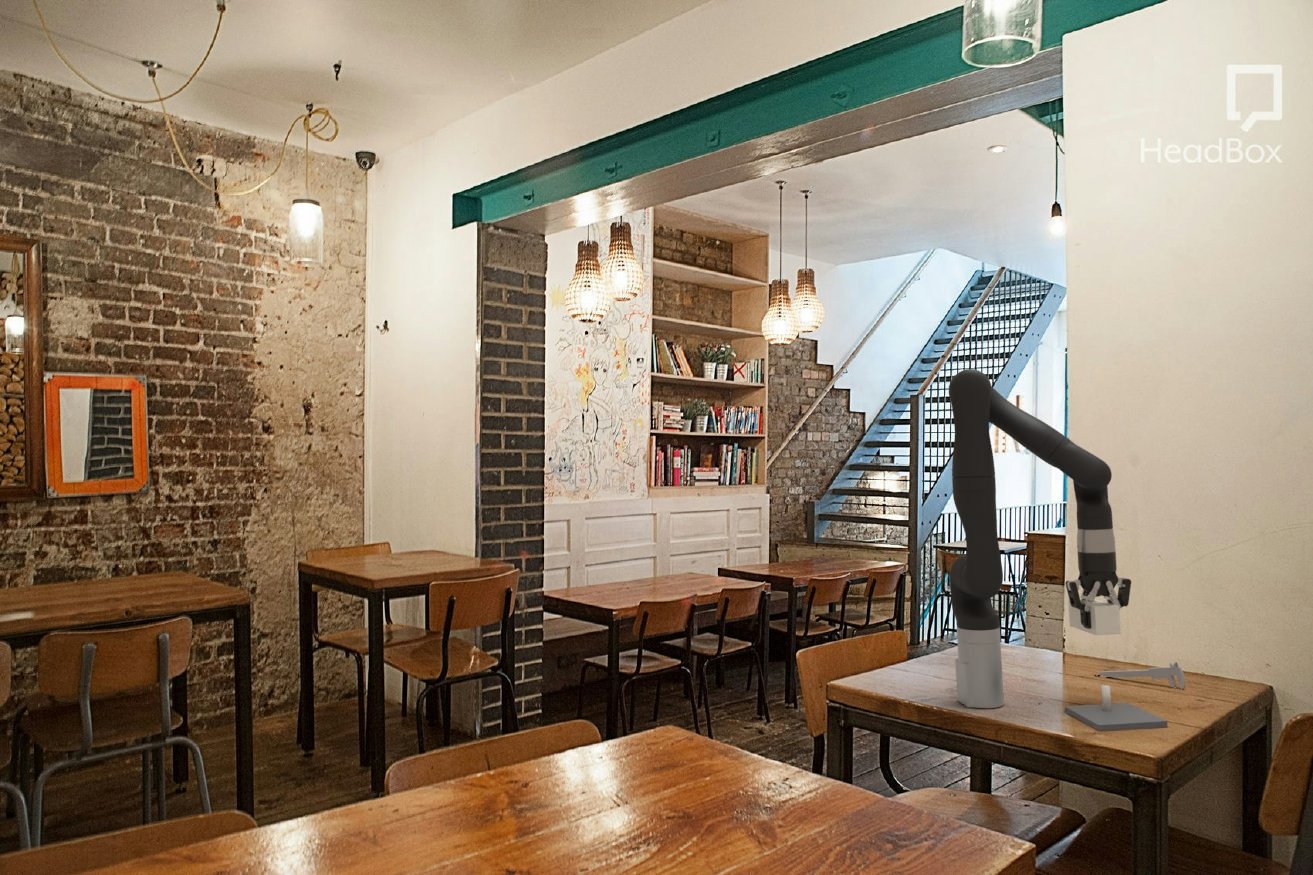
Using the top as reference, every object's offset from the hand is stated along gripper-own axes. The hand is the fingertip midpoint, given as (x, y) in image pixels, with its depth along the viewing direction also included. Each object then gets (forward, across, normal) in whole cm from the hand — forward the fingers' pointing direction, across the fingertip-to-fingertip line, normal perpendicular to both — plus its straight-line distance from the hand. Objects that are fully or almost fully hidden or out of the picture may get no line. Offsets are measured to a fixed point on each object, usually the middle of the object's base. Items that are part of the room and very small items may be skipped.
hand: (1100, 626), depth 197 cm
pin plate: (+17, -3, -8) cm, 20 cm away
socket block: (+1, 0, +3) cm, 3 cm away
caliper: (+18, +19, +18) cm, 32 cm away
